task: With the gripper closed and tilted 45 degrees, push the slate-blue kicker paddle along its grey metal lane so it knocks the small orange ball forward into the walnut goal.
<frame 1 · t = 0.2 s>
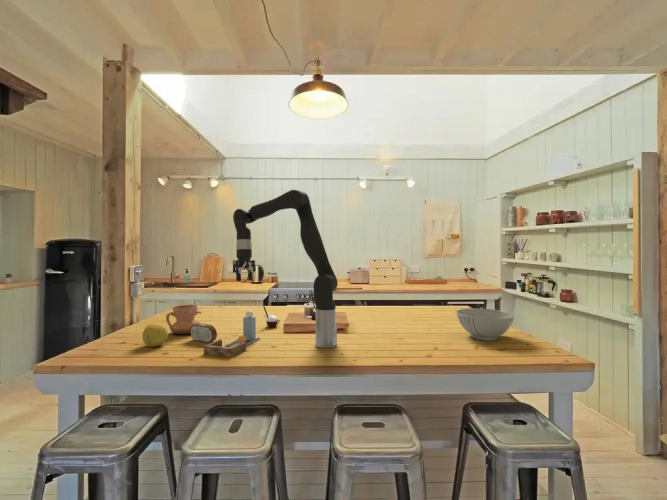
hand: (244, 280, 177), 28 cm above the table, tool pointing down, fingers open, 8 cm apart
cocoa: (271, 327, 198), on the table
goal: (226, 351, 154), on the table
tin: (203, 341, 169), on the table
fruit: (155, 346, 162), on the table
ceramic jug: (184, 333, 185), on the table
lane: (243, 343, 166), on the table
kicker: (249, 324, 171), point 8 cm above the table, slide at 0.0 cm
decorative bowl: (484, 337, 178), on the table
ball: (241, 343, 165), on the table
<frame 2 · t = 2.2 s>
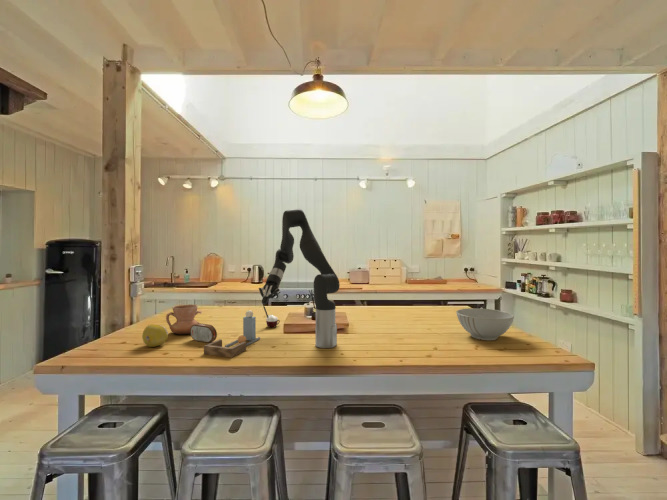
hand: (263, 303, 184), 16 cm above the table, tool tilted 45°, fingers closed
nothing on the table moved.
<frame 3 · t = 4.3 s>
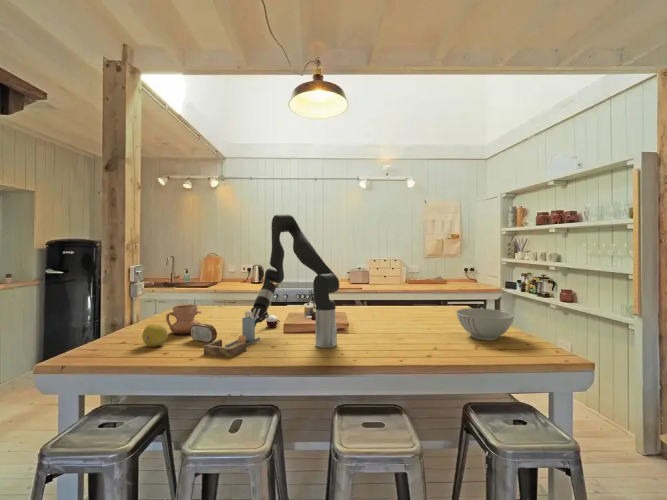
hand: (251, 328, 172), 5 cm above the table, tool tilted 45°, fingers closed
kicker: (248, 325, 170), point 7 cm above the table, slide at 0.8 cm, touching gripper
everything else where it was.
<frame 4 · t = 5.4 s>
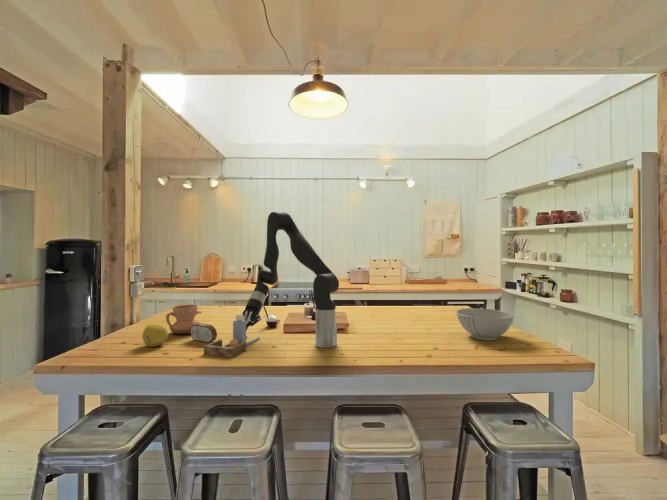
hand: (242, 332, 165), 5 cm above the table, tool tilted 45°, fingers closed
kicker: (239, 328, 163), point 8 cm above the table, slide at 8.4 cm, touching gripper
ball: (233, 339, 159), point 4 cm above the table, tilted 179°
everything else where it was.
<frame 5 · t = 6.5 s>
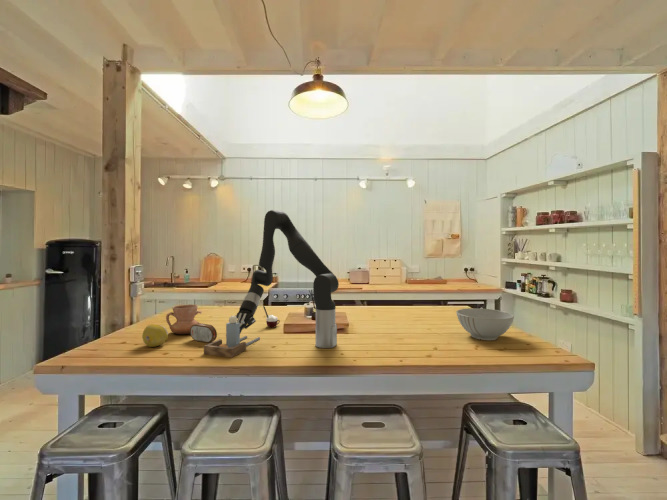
hand: (235, 335, 160), 5 cm above the table, tool tilted 45°, fingers closed
kicker: (233, 331, 158), point 8 cm above the table, slide at 13.5 cm, touching gripper
ball: (225, 350, 153), point 1 cm above the table, tilted 47°
everything else where it was.
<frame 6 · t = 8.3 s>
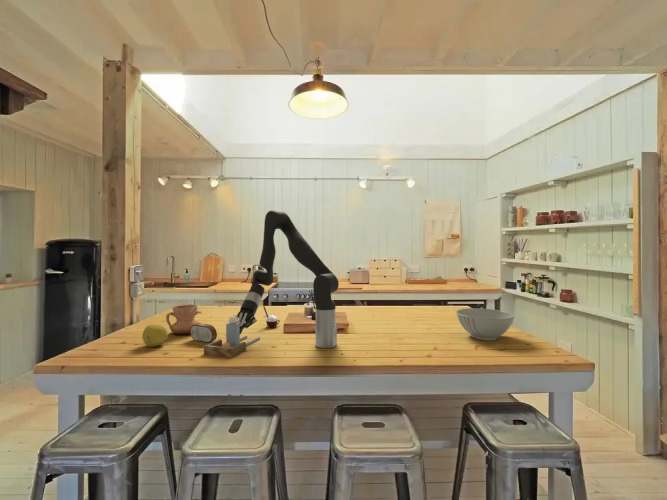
hand: (236, 334, 161), 5 cm above the table, tool tilted 45°, fingers closed
kicker: (233, 331, 158), point 8 cm above the table, slide at 13.5 cm
ball: (225, 351, 153), on the table, tilted 13°
everything else where it was.
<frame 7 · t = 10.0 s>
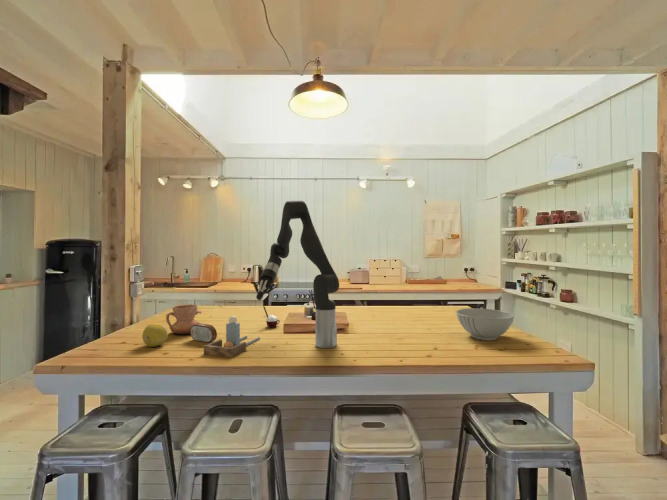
hand: (258, 299, 176), 19 cm above the table, tool tilted 45°, fingers closed
ball: (225, 349, 153), point 1 cm above the table, tilted 60°
everything else where it was.
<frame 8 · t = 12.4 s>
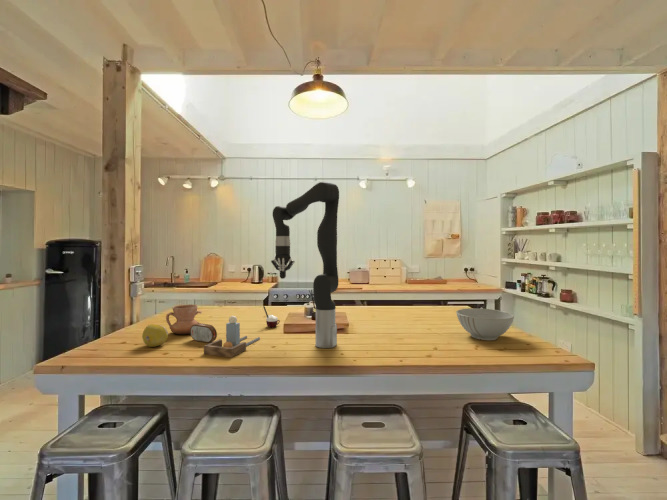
hand: (282, 278, 182), 29 cm above the table, tool pointing down, fingers closed
ball: (225, 350, 153), point 1 cm above the table, tilted 53°
everything else where it was.
at the end: ball inside the target area (0.6 cm from its centre), point 0.8 cm above the table; kicker slide at 13.5 cm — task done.
